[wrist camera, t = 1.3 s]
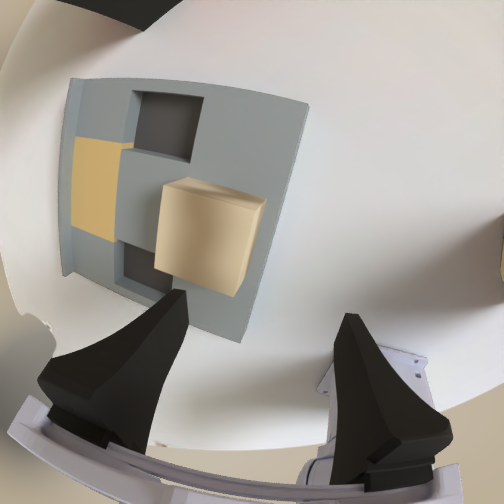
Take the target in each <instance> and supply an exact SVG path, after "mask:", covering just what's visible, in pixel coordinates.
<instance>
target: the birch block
mask: <svg viewBox="0 0 504 504" xmlns="http://www.w3.org/2000/svg"><path fill="white" fill-rule="evenodd" d="M266 200H267V199H265V198H262V197H259V196H255V195H252V194H248V193H245V192H241V191H238V190H234V189H231V188H227V187H223V186H220V185H216V184H212V183H209V182H205V181H201V180H197V179H193V178H189V177H186V178H183V179H180V180H177V181H174V182H171V183H168V184H165V185H163V191H162V198H161V206H160V214H159V223H158V232H157V241H156V252H155V264H154V268H155V269H158V270H161V271H163V272H166V273H168V274H171V275H174V276H176V277H179V278H182V279H184V280H187V281H190V282H192V283H195V284H198V285H200V286H203V287H206V288H209V289H211V290H214V291H217V292H220V293H223V294H225V295H228V296H231V297H234V296H235V294H236V292H237V291H238V289H239V287H240V285H241V284H242V282H243V280H244V278H245V277H246V275H247V272H248V268H249V264H250V261H251V257H252V253H253V249H254V245H255V242H256V238H257V234H258V230H259V227H260V223H261V219H262V215H263V211H264V208H265V204H266Z"/></svg>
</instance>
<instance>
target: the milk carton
mask: <svg viewBox="0 0 504 504" xmlns="http://www.w3.org/2000/svg"><path fill="white" fill-rule="evenodd" d="M500 273H501V276H502V280H503V283H504V241H503V252H502V260H501V268H500Z"/></svg>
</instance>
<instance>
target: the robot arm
mask: <svg viewBox="0 0 504 504" xmlns="http://www.w3.org/2000/svg"><path fill="white" fill-rule="evenodd" d="M188 325H189V315H188V305H187V294H186V290H181V289H175V288H174V289H172V290H171V291H170V292H168V293H167V294H166V295H165V296H164V297H162V298H161V299H160V300H159V301H158V302H157V303H155V304H154V305H153V306H152V307H150V308H149V309H148V310H147V311H145V312H144V313H143V314H142V315H140V316H139V317H138V318H136V319H135V320H134V321H132V322H131V323H129V324H128V325H127V326H125V327H124V328H122V329H121V330H119V331H117V332H116V333H114V334H112V335H110V336H109V337H107V338H105V339H103V340H101V341H99V342H97V343H95V344H93V345H90V346H88V347H85V348H83V349H80V350H78V351H75V352H72V353H69V354H66V355H62V356H59V357H55V358H51V359H50V361H49V362H48V364H47V365H46V367H45V368H44V370H43V371H42V373H41V374H40V375H39V377H38V379H37V381H38V384H39V386H40V387H41V389H42V390H43V392H44V393H45V394H46V395H47V397H48V398H49V399H50V400H51V401H52V403H53V406H52V408H50V407H49V406H47V405H46V404H44V403H43V402H41V401H39V400H38V399H36V398H35V397H33V396H32V395H28V397H27V399H26V400H25V402H24V404H23V405H22V407H21V409H20V411H19V412H18V414H17V415H16V417H15V419H14V420H13V422H12V424H11V426H10V427H9V429H8V431H7V433H8V434H9V435H10V436H11V437H12V438H13V439H15V440H16V441H17V442H18V443H20V444H21V445H22V446H24V447H25V448H26V449H27V450H29V451H30V452H31V453H33V454H34V455H36V456H37V457H38V458H40V459H41V460H43V461H44V462H46V463H47V464H49V465H51V466H52V467H54V468H55V469H57V470H58V471H60V472H62V473H63V474H65V475H67V476H68V477H70V478H72V479H74V480H75V481H77V482H79V483H81V484H83V485H85V486H86V487H88V488H90V489H92V490H94V491H96V492H98V493H100V494H102V495H104V496H107V497H109V498H111V499H113V500H115V501H118V502H120V503H119V504H273V503H266V502H259V501H252V500H244V499H237V498H230V497H225V496H220V495H215V494H210V493H206V492H201V491H197V490H193V489H188V488H184V487H180V486H174V485H167V484H163V483H161V481H160V479H159V478H157V477H160V478H163V479H166V480H169V481H173V482H176V483H180V484H183V485H187V486H191V487H195V488H200V489H204V490H208V491H214V492H218V493H223V494H229V495H235V496H242V497H249V498H257V499H266V500H277V501H293V502H296V504H464V502H463V492H462V484H461V476H460V469H459V464H458V463H455V464H451V465H447V466H443V467H439V468H436V469H434V465H433V464H434V463H435V457H434V456H435V455H436V454H438V453H439V452H440V451H442V450H443V449H444V448H446V447H447V446H448V445H449V444H450V443H451V441H452V440H453V434H452V430H451V425H450V422H449V420H448V419H447V418H446V417H444V416H443V415H441V414H440V413H439V412H437V411H436V410H435V406H434V402H433V398H432V394H431V391H430V387H429V383H428V380H427V376H426V373H425V369H424V368H425V366H426V365H427V364H428V359H427V358H426V357H422V356H418V355H414V354H409V353H405V352H401V351H398V350H394V349H390V348H386V347H382V346H378V345H377V344H376V343H375V341H374V339H373V338H372V336H371V334H370V333H369V331H368V329H367V328H366V326H365V324H364V323H363V321H362V319H361V318H360V316H359V315H358V314H352V313H345V316H344V318H343V321H342V324H341V326H340V329H339V332H338V334H337V337H336V339H335V342H334V361H333V363H332V365H331V366H330V368H329V370H328V371H327V373H326V375H325V376H324V378H323V379H322V381H321V382H320V384H319V386H318V387H317V392H318V393H319V394H323V395H327V396H330V406H329V420H328V432H327V443H326V445H323V446H320V447H318V454H317V458H314V459H310V460H309V461H307V463H306V464H305V465H304V466H303V468H302V470H301V471H300V473H299V476H298V479H297V482H296V484H279V483H269V482H259V481H251V480H245V479H238V478H232V477H227V476H221V475H216V474H211V473H206V472H202V471H198V470H194V469H190V468H186V467H182V466H178V465H175V464H171V463H168V462H165V461H161V460H158V459H155V458H152V457H149V456H146V455H145V452H146V447H147V442H148V438H149V433H150V429H151V425H152V421H153V417H154V413H155V410H156V406H157V403H158V400H159V397H160V393H161V390H162V387H163V384H164V382H165V379H166V377H167V375H168V373H169V371H170V368H171V366H172V364H173V362H174V360H175V358H176V356H177V354H178V351H179V349H180V347H181V345H182V343H183V340H184V337H185V334H186V331H187V328H188ZM415 360H416V361H415ZM152 475H153V476H152ZM155 476H156V477H155Z"/></svg>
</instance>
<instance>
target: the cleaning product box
mask: <svg viewBox="0 0 504 504" xmlns="http://www.w3.org/2000/svg"><path fill="white" fill-rule="evenodd" d="M58 1H61V2H65V3H68V4H72V5H75V6H78V7H82V8H85V9H88V10H91V11H94V12H97V13H99V14H102V15H105V16H108V17H110V18H113V19H115V20H118V21H121V22H123V23H125V24H128V25H130V26H133V27H135V28H137V29H140V30H142V31H145V30H146V29H147V28H148V27H150V26H151V25H152V24H153V23H154V22H156V21H157V20H158V19H159V18H160V17H162V16H163V15H164V14H165V13H167V12H168V11H169V10H170V9H172V8H173V7H174V6H176V5H177V4H178V3H180V2H181V1H183V0H58Z"/></svg>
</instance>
